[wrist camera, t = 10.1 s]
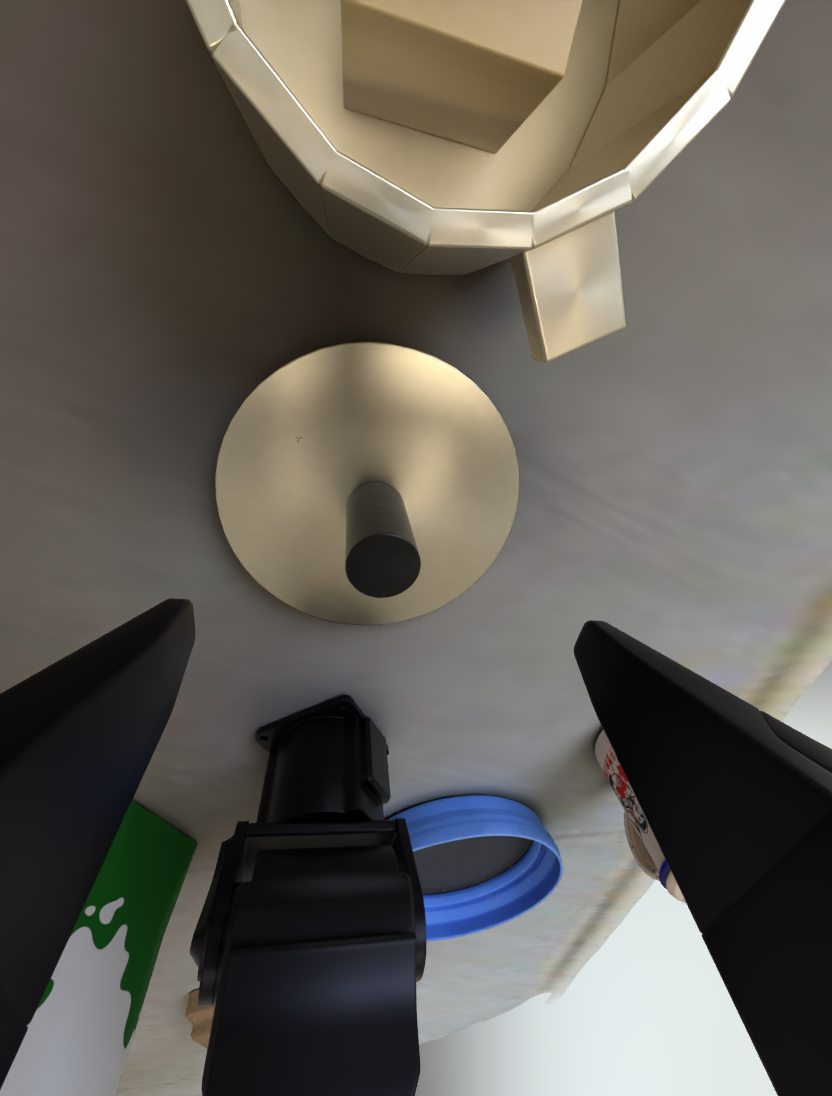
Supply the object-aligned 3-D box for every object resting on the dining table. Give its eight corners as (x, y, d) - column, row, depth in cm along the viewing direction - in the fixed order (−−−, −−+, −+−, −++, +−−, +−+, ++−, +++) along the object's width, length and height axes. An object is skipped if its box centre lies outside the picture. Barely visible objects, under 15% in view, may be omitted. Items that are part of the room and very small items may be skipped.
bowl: (512, 757, 31) (530, 805, 28) (566, 851, 40) (584, 895, 37) (304, 842, 33) (300, 896, 30) (401, 913, 42) (405, 960, 39)
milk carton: (132, 786, 27) (-266, 1650, 9) (217, 844, 31) (54, 1497, 14) (17, 831, 27) (-557, 1724, 10) (117, 882, 32) (-158, 1553, 15)
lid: (316, 646, 23) (306, 743, 18) (151, 425, 16) (58, 476, 11) (538, 554, 22) (597, 627, 17) (460, 279, 15) (518, 260, 10)
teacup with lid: (624, 687, 29) (770, 886, 19) (724, 695, 31) (903, 876, 21) (556, 789, 34) (642, 985, 24) (645, 789, 36) (758, 970, 26)
